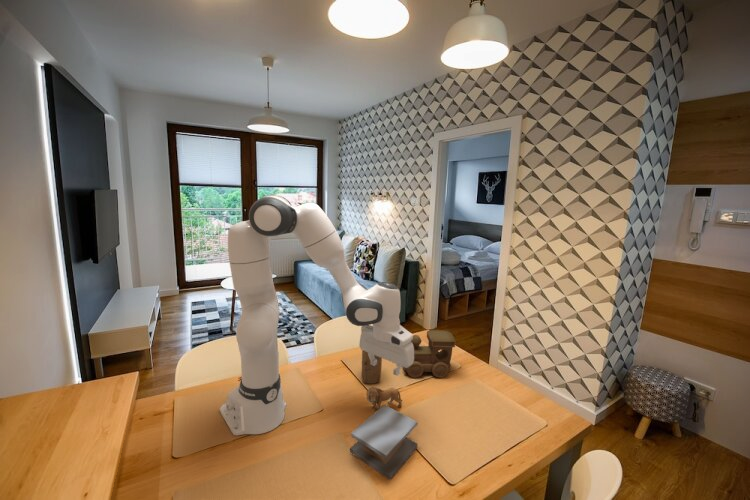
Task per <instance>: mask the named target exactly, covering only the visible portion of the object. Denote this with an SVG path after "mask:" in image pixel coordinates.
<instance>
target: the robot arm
mask: <svg viewBox="0 0 750 500" xmlns="http://www.w3.org/2000/svg"><path fill="white" fill-rule="evenodd" d="M291 233H293V234H294V235H295V237H296V238H297V239H298V240H299V243H300V244H301V246H302V248H303V249H304V252H306V254H307V256H308V257H309V258H310V259H311V260H312V261H313V263H314V264H315V265H316V266H318V267H321V268H324V269H326V270H327V271H328V272H329V273H330V275H331V277H332V278H333V280H334V281H335V283H336V284H337V286H338V288H339V290H340V292H341V301H342V305H343V307H344V312H345V316H346V319H347V320H348V321H349V322H350V324H352V325H354V326H357V327H361V328H360V332H361V333H360V336H359V344H358V345H359V348H360V350H361V351H362V350H363V351H366V352H368V356H369V358H370V360H371V365H373V366H375V365H376V364H377V359H375V357H374V355H376V356H378V357H381V358H382V360H385V361H388V362H391V363H393V364H396V367H395V368H393V373H392V374H393V375H395V376H399V375H401V369H402V368H403V367H405V368H407V367H409V366H410V365H412V364H413V362H414V346H413V343H412V342H411V340H412V339H413V336H414V334H413V333H412V332H410V331H408V330H407V329H406V328H405V327H404V326H402V325H401V321H400V314H401V313H400V312H401V305H402V303H401V299H402V298H401V292H400V289H399V287H397V286H396V285H395V284H393V283H391V282H386V281H379V282H377V283H375V284H374V285H373V286H372V287H370V288H369V289H368V288H366V286H365V285H363V284H361V283H360V282H359V281H358V280H357V279H356V277H355V276H354V274H353V272H352V270H351V269H350V267H349V265H348V263H347V260H346V258H345V248H344V245H343V242H342V240H341V237H340V236H339V233H338V230H337V229H336V227H335V226H334V224H333V222H332V221H331V219H330V218H329V217H328V215H327V214H326V213H325V211H324V210H323V209H322V208H321V207H320V206H319V205H318V204H317V203H314V202H306V203H303V204H301V205H298V206H292V204H291V202H290V201H289V200H288V199H287V198H286V197H284V196H282V195H276V194H269V195H264V196H263V197H261V198H259V199H257V200H256V201H254V202H253V204H252V205H251V207H250V209H249V212H248V220H244V221H239V222H236V223H235V224H233V225H232V226H230V228H229V229H228V232H227V253H228V256H227V257H228V261H229V267H230V273H231V278H232V279H231V280H232V285H233V290H234V291H235V292H236V294H237V297H238V300H239V302H240V306H241V315H240V318H239V319H238V322H237V324H236V330H235V335H236V336H235V337H236V342H237V344H238V345H237V346H238V350H239V355H240V362H241V363H240V366H241V376H239V377H238V378H237V379H238V380H237V381H238V382H239V385H238V386H237V387H235V388H234V389H232V390H231V391H230V392H229V393H228V395H227V401H225V403H223V404H222V405H221V406H220V407H219V412H220V415H221V416H222V418H223V420H224V422H225V423H226V424H227V426H228V428H229V430H230V431H231V433H232V434H233V436H241V435H242V436H243V435H262V434H265V433H269V432H271V431H272V430H275V429H276V428H278V427H279V426H280V425H281V424H282V422H283V421H284V418H285V409H286V408H287V401H285V400H284V399H285V398H284V391H283V386H282V385H281V383H282V382H281V381H282V380H281V375H280V356H279V355H280V353H279V347H278V346H279V345H278V326H279V319H280V306H279V301H278V296H277V292H276V291H277V290H276V288H275V284H274V279H273V273H272V266H271V259H270V253H269V239H270V237H278V236H281V235H286V234H291Z"/></svg>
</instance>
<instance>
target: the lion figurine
mask: <svg viewBox="0 0 750 500" xmlns="http://www.w3.org/2000/svg"><path fill="white" fill-rule="evenodd" d="M365 394H366V400H367V402H368V403H371V405H372V406H371V407H372V409H374V410H375V409H376V407H377V409H376V411H378V410H379V409H380V408H381V407H382V403H383V402H386V401H387V404H388V405H391V404H392V403H393V402H394V401H395V402H396V403H398V404H397V408H399V409H400V408H401V407H402V402H403V399H401V392H400V391H399V390H398V389H397V388H395V387H390V388H387V389H384V390H383V389H381V388H377V387H373V386H372V387H370V388H368V389H367V390H366V393H365Z"/></svg>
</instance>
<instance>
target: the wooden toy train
mask: <svg viewBox="0 0 750 500" xmlns="http://www.w3.org/2000/svg"><path fill="white" fill-rule="evenodd" d="M426 338H427V340H428V345H421V344H422V341H423V340H422V338H421V337H420V335H417V334H413V339H412V340H411V342H412V343H413V346H414V362H413V364H412V365H410V366H409V367H407V368H405V367H403V366H402V368H403V372H406V373H407V375H408V376H409V377H411V378H413V379H414V378H415V379H417V378H420V377H421V376H422V375H423V373H424V372H431V373H432V375H433V376H434V377H435V378H439V379H441V378H444V377H446V376H447V375H448V373H449V372H451V366H452V365H451V360H452V355H453V354H452V353H453V348H456V339H455V337H454V336H453V334H452V332H450V331H449V330H437V329H436V330H435V329H433V330H431V329H429V330H426Z"/></svg>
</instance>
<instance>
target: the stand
mask: <svg viewBox="0 0 750 500" xmlns="http://www.w3.org/2000/svg"><path fill="white" fill-rule="evenodd" d="M377 410H378V409H377ZM377 410H376V411H375V412H374V413H372V414H371V415H370V416H369V417H368V418H367V419H366V420H365V421H363V422H362V423H361V424H360V425H359V426H358V427H356V428H355V429H354V430H353V431H351V432H350V437H351V438H353V439H354V440H355V441H356V442H355V443H354V444H353V445H351V447H349V453H350V452H351V453H352V454H351V453H350V454H351V455H353V454H354V455H355V456H356V458H357V459H359V460H360V461H361V462H363V463H364V464H366V465H367V466H369V467H370V468H371V469H374V470H375V471H376V472H377V473H379V474H380V475H382V476H383V477H385V478H386V479H387V480H390V481H391V480H392V478H393V477H394V476H395V475H396V474H397V473H398V471H399V470H400V469H401V468H402V467H403V465H404V464H405V463H406V462H407V461H408V459H409V458H410V457H411V456H412V455H413V454H414V452H415V451H416V450H417V449H418V443H417V442H415V441H414V440H413V439H410V438H409V437H408V435H410V433H411V432H412V431H413V430H414V429H415V428H416V427H418V421H416V420H414V419H413V418H411V417H409V416H408V415H407V416H406V415H405V414H403V413H401V412H399V411H398V410H395V409H394V408H391V407H389V406H387V405H386V404H384V405H383V406H382V405H381V407H380V409H379V410H378V411H377ZM354 455H353V456H354ZM355 456H354V457H355Z"/></svg>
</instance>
